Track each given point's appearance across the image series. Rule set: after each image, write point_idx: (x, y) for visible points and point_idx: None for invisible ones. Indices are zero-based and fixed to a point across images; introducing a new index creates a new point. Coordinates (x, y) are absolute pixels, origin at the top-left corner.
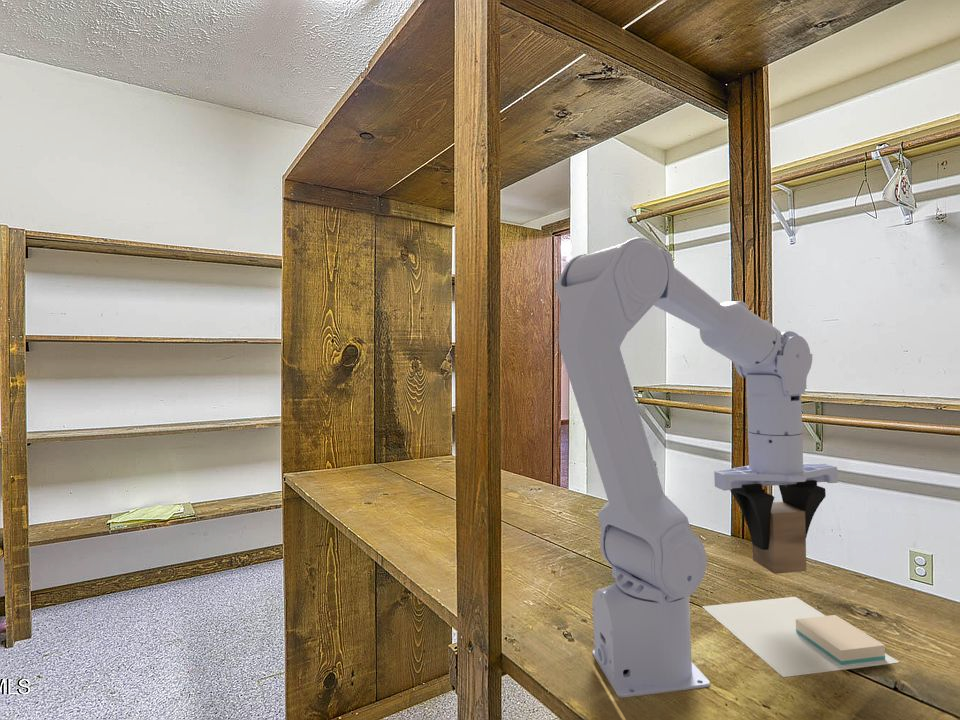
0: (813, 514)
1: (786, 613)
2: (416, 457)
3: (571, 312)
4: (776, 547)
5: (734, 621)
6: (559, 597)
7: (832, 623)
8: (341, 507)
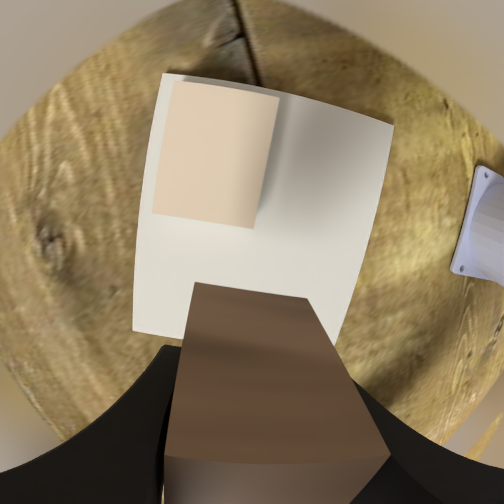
0: (95, 425)
1: None
2: None
3: None
4: (322, 344)
5: (325, 295)
6: (447, 405)
7: (191, 185)
8: None
